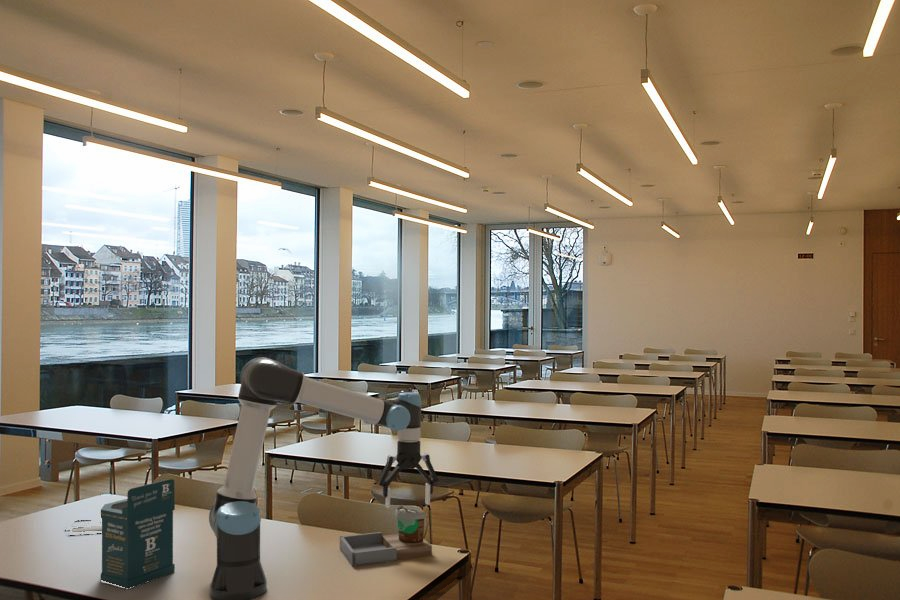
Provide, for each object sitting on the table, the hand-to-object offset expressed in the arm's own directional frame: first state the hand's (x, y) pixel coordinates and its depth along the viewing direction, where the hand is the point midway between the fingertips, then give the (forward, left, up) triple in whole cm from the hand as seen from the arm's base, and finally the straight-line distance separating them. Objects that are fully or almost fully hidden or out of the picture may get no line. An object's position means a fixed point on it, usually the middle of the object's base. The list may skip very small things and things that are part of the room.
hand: (407, 505), depth 238 cm
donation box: (+7, +83, -15) cm, 84 cm away
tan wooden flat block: (0, +1, -14) cm, 14 cm away
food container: (0, +1, -12) cm, 12 cm away
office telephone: (+68, +98, -15) cm, 120 cm away
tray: (0, +14, -14) cm, 20 cm away
